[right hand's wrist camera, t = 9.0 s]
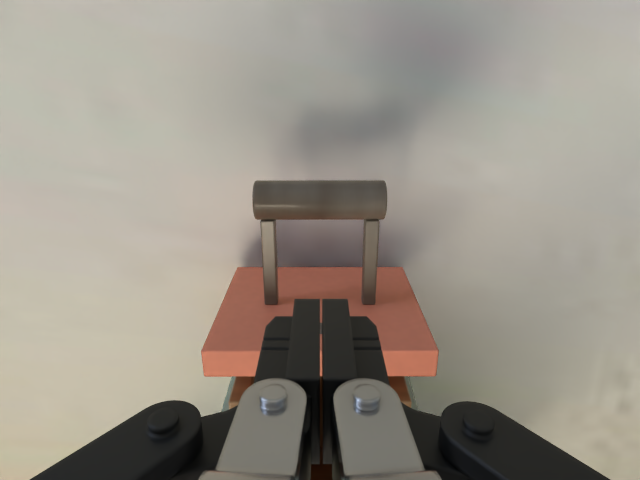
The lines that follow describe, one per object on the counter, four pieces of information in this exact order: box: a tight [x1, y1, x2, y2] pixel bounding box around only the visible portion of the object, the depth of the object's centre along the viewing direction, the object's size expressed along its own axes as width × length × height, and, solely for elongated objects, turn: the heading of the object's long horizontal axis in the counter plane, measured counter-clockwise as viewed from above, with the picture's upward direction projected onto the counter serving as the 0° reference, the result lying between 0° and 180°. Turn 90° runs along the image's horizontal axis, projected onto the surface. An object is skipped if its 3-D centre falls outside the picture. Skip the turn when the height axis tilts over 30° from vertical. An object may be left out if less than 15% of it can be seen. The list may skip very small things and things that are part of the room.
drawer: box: [201, 181, 439, 480], centre depth 21 cm, size 18×9×8 cm, turn 0°
